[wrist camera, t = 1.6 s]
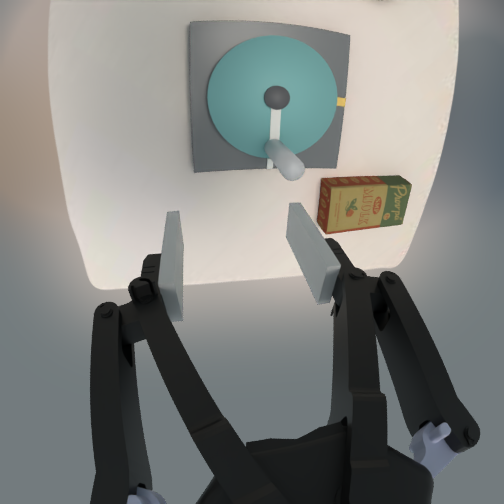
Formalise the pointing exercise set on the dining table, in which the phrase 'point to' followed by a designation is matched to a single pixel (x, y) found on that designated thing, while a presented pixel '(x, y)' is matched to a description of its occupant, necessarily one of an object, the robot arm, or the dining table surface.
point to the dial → (273, 99)
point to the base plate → (204, 62)
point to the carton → (362, 202)
